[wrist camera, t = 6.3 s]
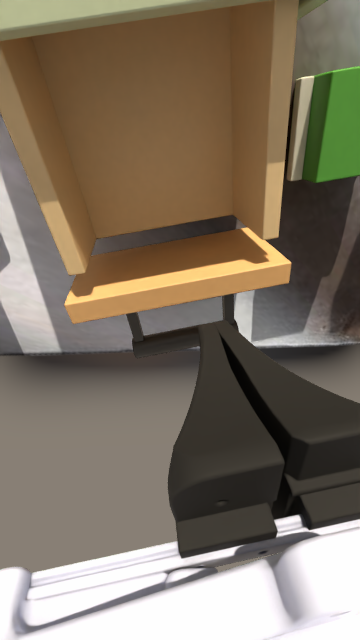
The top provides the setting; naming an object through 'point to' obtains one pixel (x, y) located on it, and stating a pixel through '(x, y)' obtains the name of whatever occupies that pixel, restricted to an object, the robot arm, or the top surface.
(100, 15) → the cabinet
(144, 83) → the drawer
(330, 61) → the top surface
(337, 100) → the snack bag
